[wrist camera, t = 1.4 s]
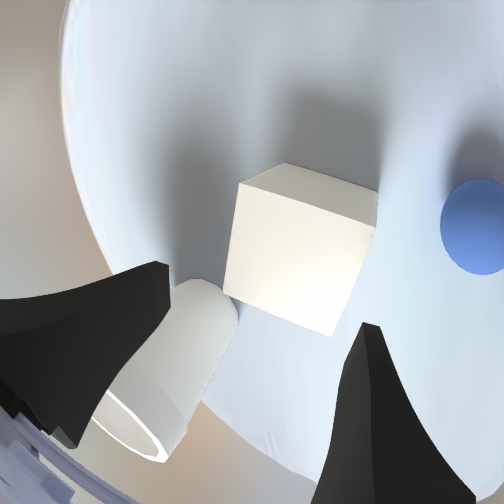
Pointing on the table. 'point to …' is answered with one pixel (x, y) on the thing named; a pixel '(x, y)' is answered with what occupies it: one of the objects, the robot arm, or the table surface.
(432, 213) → the table surface
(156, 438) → the foam cup
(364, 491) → the robot arm
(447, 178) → the table surface
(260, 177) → the white cubic block
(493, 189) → the ball
